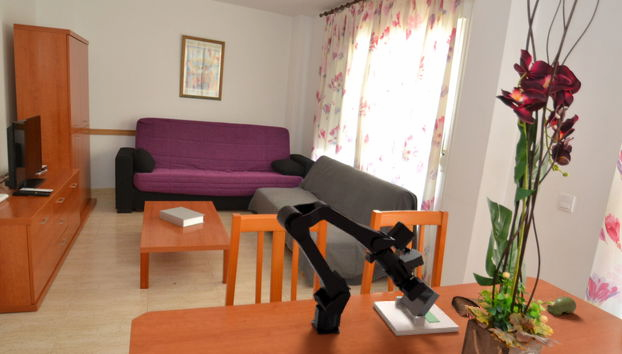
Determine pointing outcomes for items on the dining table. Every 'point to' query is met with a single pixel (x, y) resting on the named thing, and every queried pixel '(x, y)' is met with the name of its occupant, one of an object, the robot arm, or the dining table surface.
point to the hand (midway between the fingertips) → (416, 295)
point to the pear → (562, 306)
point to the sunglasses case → (459, 304)
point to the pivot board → (414, 319)
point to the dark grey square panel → (420, 302)
